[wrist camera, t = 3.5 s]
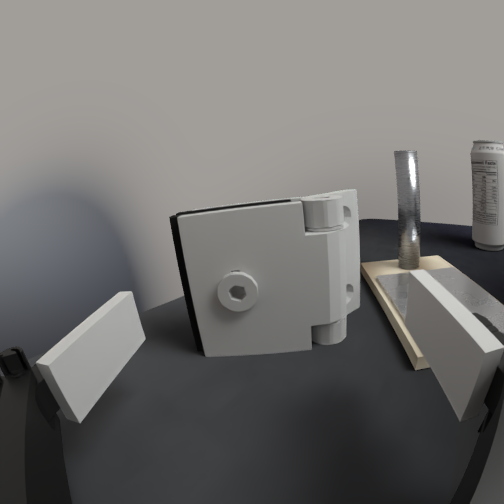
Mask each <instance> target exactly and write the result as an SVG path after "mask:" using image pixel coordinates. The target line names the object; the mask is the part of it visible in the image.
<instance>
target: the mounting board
mask: <svg viewBox="0 0 504 504" xmlns="http://www.w3.org/2000/svg"><path fill="white" fill-rule="evenodd" d="M449 267H454V266H452V265H451V264H449V263H448V262H447V261H445V260H444V259H442V258H441V257H440V256H438V255H437V256H427V257H420V263H419V268H418V269H415V270H422V269H424V270H433V269H441V268H449ZM457 270H458V269H457ZM409 271H413V270H404V269H401V268H399V267H398V260H388V261H377V262H367V263H361V273H362V275H363V276H364V278H365V279H366V281H367V283H368V285H369V286H370V288H371V290H372V291H373V293H374V295H375V296H376V298H377V300H378V302H379V303H380V305H381V307H382V309H383V310H384V312H385V314H386V316H387V318H388V319H389V321H390V323H391V325H392V327H393V328H394V330H395V332H396V334H397V336H398V338H399V340H400V341H401V343H402V345H403V347H404V349H405V351H406V353H407V355H408V357H409V359H410V361H411V363H412V365H413V367H414V369H415V370H419V369H424V368H429V367H430V366H429V364H428V362H427V361H426V359H425V357H424V355H423V354H422V352H421V350H420V349H419V347H418V345H417V344H416V342H415V341H414V339H413V337H412V336H411V334H410V332H409V331H408V329H407V328H406V326H405V322H404V320H403V319H402V317H401V316H400V314H399V313H398V311H397V309H396V308H395V306H394V305H393V303H392V302H391V300H390V299H389V297H388V296H387V294H386V293H385V291H384V290H383V288H382V287H381V285H380V284H379V282H378V281H377V279H376V276H379V275H388V274H398V273H407V272H409ZM461 273H462V272H461ZM465 276H466V275H465ZM469 279H470V278H469ZM473 282H474V281H473ZM477 285H478V284H477ZM481 288H482V287H481ZM482 289H483V288H482ZM486 292H487V291H486ZM491 296H492V295H491ZM496 300H497V299H496ZM497 301H498V300H497ZM501 304H502V303H501ZM502 305H503V304H502Z"/></svg>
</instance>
